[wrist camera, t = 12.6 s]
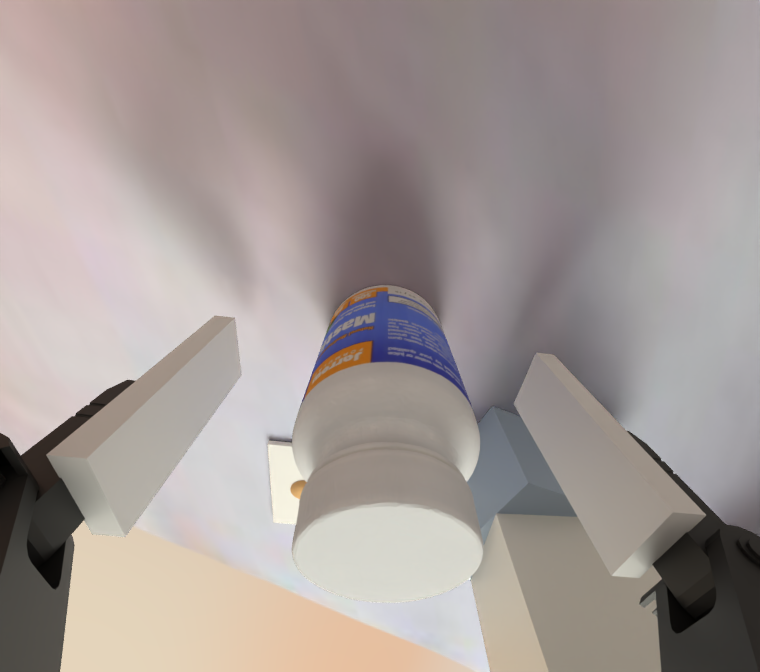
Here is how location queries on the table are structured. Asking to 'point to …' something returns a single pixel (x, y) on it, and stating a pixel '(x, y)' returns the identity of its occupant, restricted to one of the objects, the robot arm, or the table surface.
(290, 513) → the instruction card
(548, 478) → the base block
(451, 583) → the pill bottle
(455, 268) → the table surface
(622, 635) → the cream cube
